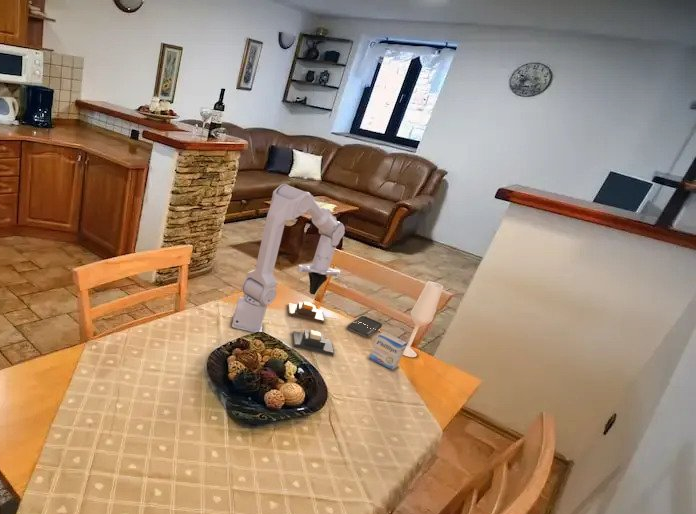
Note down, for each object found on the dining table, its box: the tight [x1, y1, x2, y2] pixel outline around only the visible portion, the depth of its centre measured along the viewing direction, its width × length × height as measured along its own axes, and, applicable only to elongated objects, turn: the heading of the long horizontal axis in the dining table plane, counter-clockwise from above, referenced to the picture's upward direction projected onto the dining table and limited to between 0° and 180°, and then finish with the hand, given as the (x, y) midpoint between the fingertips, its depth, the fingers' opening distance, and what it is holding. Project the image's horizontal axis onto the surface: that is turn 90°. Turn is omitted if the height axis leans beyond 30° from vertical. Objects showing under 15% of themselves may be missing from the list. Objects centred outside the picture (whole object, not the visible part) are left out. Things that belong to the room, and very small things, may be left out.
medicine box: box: [368, 331, 408, 371], centre depth 152 cm, size 8×4×9 cm, turn 47°
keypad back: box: [287, 301, 325, 324], centre depth 175 cm, size 12×9×3 cm
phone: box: [346, 315, 383, 338], centre depth 175 cm, size 8×1×15 cm
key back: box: [302, 300, 314, 310], centre depth 174 cm, size 3×3×2 cm
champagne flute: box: [402, 280, 444, 358], centre depth 158 cm, size 7×7×24 cm
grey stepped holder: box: [292, 329, 335, 357], centre depth 155 cm, size 12×9×3 cm
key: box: [309, 329, 322, 340], centre depth 154 cm, size 3×3×2 cm
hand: (312, 293), depth 172 cm, fingers closed
